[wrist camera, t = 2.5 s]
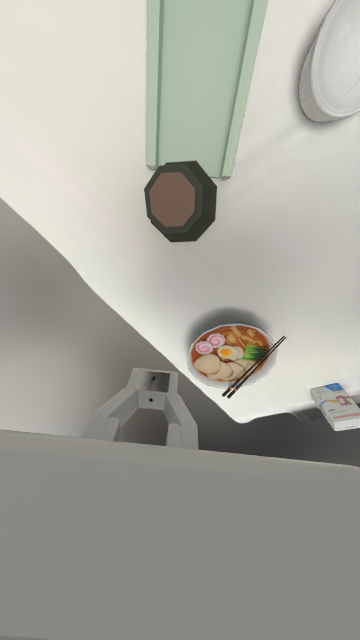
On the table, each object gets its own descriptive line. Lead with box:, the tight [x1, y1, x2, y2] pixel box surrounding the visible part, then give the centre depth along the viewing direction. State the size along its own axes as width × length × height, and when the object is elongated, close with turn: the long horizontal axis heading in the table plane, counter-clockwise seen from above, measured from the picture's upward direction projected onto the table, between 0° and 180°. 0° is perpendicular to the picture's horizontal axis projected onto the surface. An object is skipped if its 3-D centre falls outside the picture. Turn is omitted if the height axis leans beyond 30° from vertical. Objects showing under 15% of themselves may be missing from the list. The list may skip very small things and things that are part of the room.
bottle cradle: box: [146, 0, 268, 179], centre depth 22 cm, size 14×30×4 cm, turn 174°
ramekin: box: [299, 0, 360, 122], centre depth 23 cm, size 11×11×5 cm
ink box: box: [311, 383, 360, 431], centre depth 56 cm, size 9×5×12 cm, turn 117°
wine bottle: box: [144, 161, 217, 242], centre depth 22 cm, size 8×8×30 cm
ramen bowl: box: [187, 323, 286, 398], centre depth 48 cm, size 25×23×8 cm
